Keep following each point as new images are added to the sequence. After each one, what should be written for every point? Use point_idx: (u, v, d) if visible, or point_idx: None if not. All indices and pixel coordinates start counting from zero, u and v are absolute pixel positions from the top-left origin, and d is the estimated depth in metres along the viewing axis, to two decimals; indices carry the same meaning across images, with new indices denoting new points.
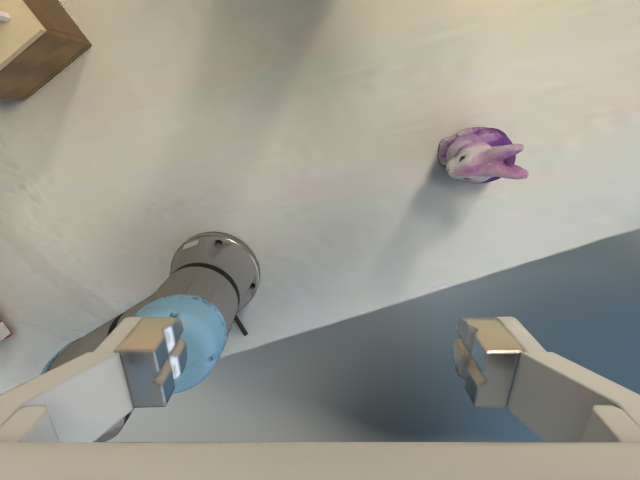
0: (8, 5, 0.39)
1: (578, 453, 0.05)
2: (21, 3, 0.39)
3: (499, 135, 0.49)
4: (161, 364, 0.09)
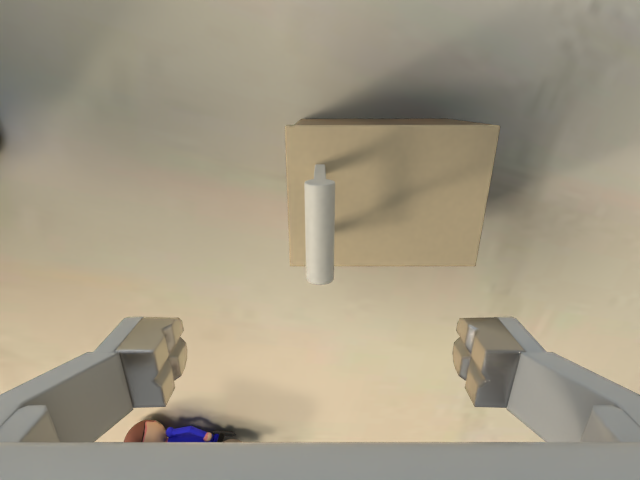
0: (305, 180, 0.24)
1: (578, 453, 0.05)
2: (286, 171, 0.24)
3: None
4: (161, 364, 0.09)
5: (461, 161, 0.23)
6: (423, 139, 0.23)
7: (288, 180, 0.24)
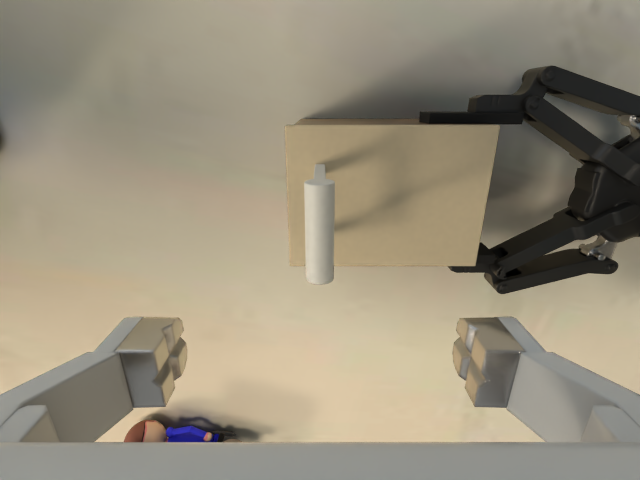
0: (305, 179, 0.24)
1: (578, 453, 0.05)
2: (286, 171, 0.24)
3: None
4: (161, 364, 0.09)
5: (461, 161, 0.23)
6: (423, 139, 0.23)
7: (288, 180, 0.24)
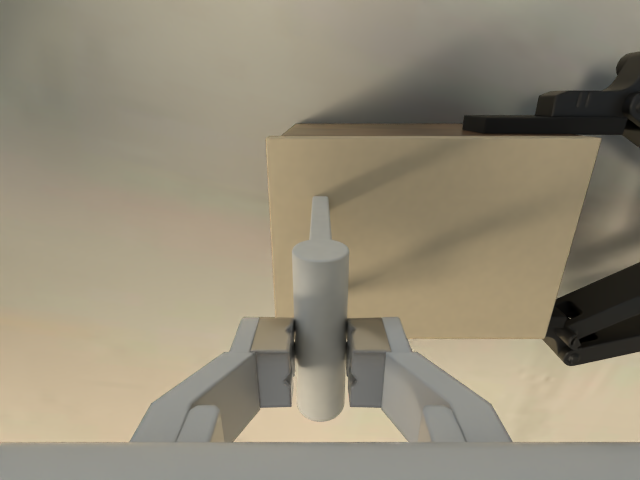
0: (298, 219, 0.16)
1: (578, 453, 0.05)
2: (269, 205, 0.16)
3: None
4: (290, 364, 0.09)
5: (536, 192, 0.15)
6: (481, 158, 0.15)
7: (272, 219, 0.16)
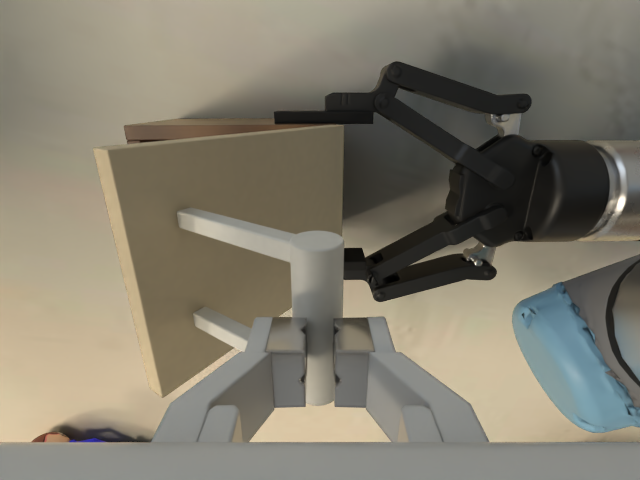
0: (163, 242, 0.13)
1: (578, 453, 0.05)
2: (124, 237, 0.12)
3: None
4: (305, 364, 0.09)
5: (323, 168, 0.21)
6: (294, 147, 0.18)
7: (133, 253, 0.12)
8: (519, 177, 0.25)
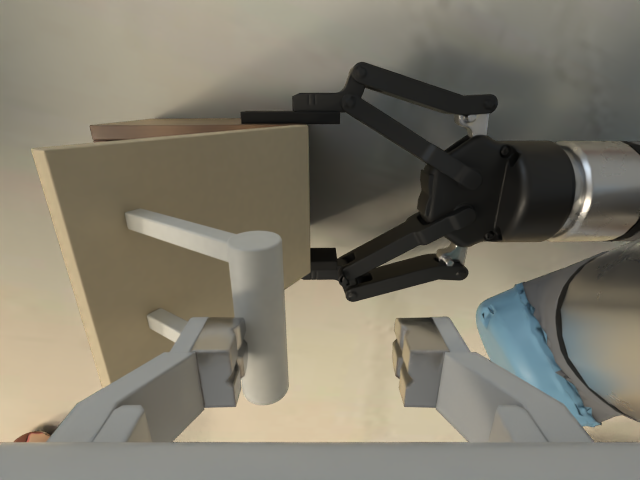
0: (111, 244, 0.13)
1: (578, 453, 0.05)
2: (67, 240, 0.12)
3: None
4: (233, 364, 0.09)
5: (287, 168, 0.21)
6: (254, 147, 0.18)
7: (77, 255, 0.12)
8: (488, 177, 0.25)
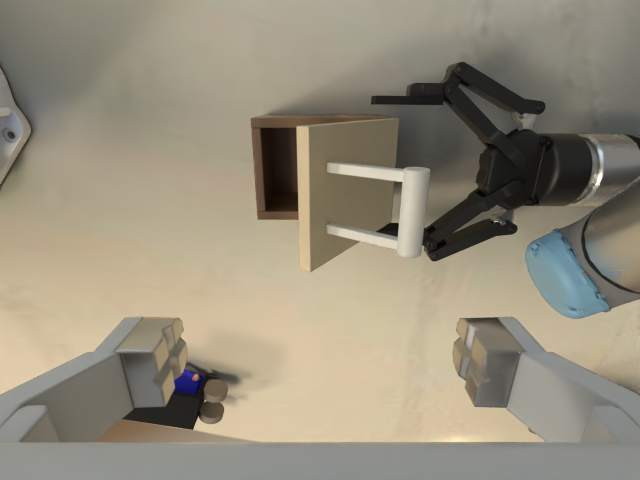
0: (320, 179, 0.24)
1: (578, 453, 0.05)
2: (307, 173, 0.23)
3: None
4: (161, 364, 0.09)
5: (387, 146, 0.31)
6: (374, 131, 0.29)
7: (310, 183, 0.23)
8: (530, 158, 0.36)
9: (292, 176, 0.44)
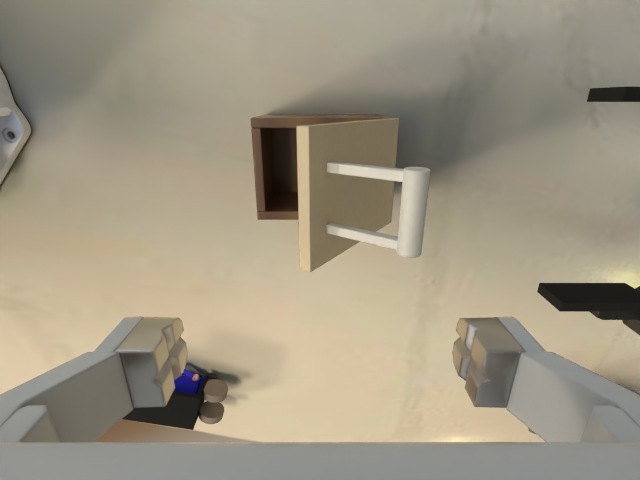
0: (320, 179, 0.24)
1: (578, 453, 0.05)
2: (307, 173, 0.23)
3: None
4: (161, 364, 0.09)
5: (387, 146, 0.31)
6: (374, 131, 0.29)
7: (310, 183, 0.23)
8: None
9: (292, 176, 0.44)
